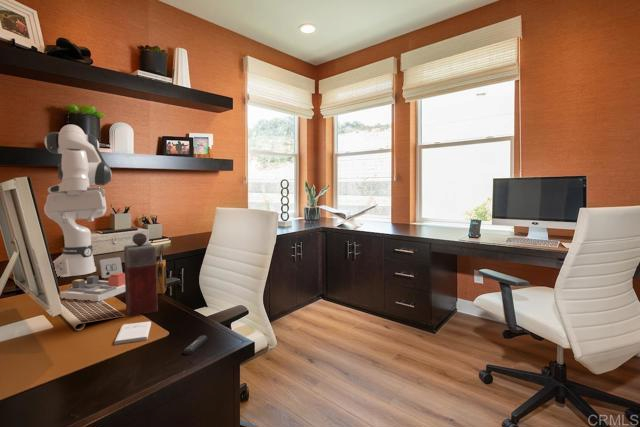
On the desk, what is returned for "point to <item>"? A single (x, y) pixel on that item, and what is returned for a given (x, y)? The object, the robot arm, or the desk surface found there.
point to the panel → (93, 292)
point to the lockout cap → (116, 279)
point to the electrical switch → (110, 266)
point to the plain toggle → (92, 279)
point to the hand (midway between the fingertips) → (77, 222)
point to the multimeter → (161, 274)
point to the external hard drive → (133, 332)
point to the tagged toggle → (78, 283)
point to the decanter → (140, 277)
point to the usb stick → (195, 345)
